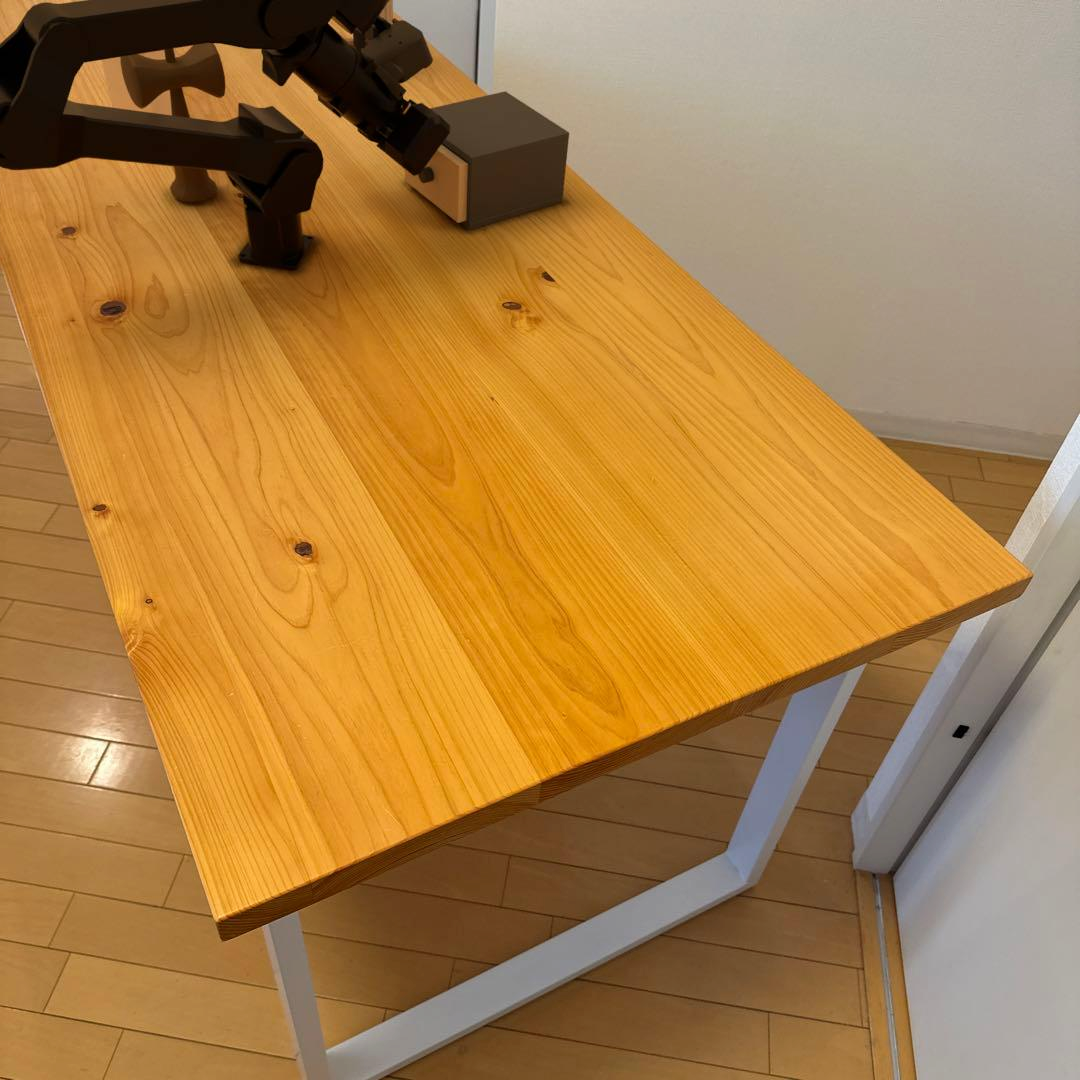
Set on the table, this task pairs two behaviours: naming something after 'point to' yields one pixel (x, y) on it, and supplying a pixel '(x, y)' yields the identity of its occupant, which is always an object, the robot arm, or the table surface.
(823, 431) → the table surface
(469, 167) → the cabinet
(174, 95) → the kendama
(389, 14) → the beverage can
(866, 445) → the table surface
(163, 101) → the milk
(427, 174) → the drawer
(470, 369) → the table surface
